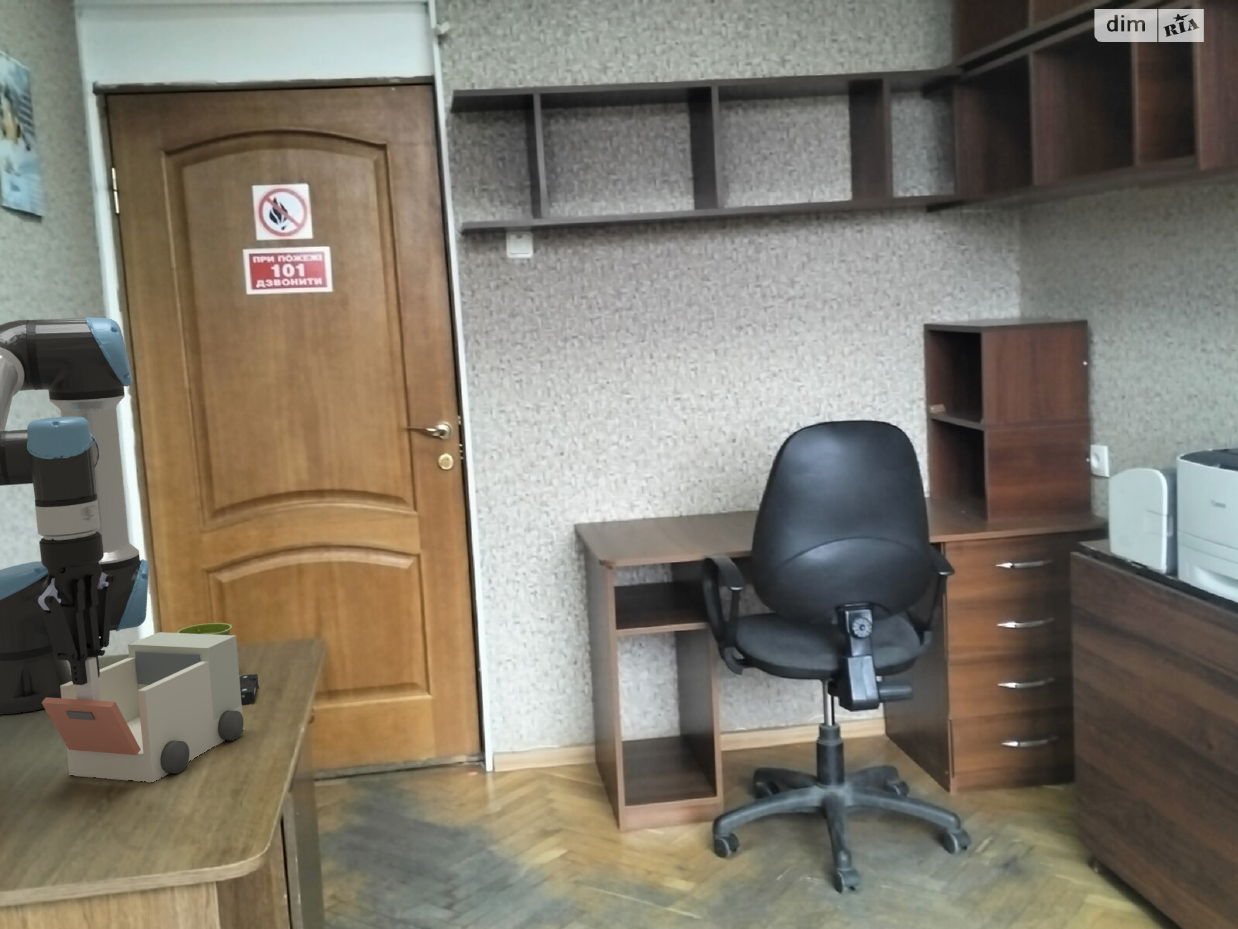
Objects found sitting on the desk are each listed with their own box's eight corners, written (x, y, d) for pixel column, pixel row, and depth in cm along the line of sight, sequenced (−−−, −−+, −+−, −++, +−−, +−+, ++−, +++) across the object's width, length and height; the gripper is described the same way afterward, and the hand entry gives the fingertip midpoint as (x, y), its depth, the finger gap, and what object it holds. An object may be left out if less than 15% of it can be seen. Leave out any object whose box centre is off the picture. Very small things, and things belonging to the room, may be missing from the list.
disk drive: (258, 689, 200) (168, 697, 197) (257, 673, 200) (167, 682, 196) (255, 707, 190) (160, 717, 187) (254, 690, 190) (158, 700, 186)
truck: (60, 774, 161) (50, 671, 160) (159, 724, 181) (151, 632, 180) (162, 783, 157) (152, 677, 155) (251, 730, 177) (243, 635, 175)
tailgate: (67, 751, 159) (40, 704, 154) (73, 744, 160) (46, 697, 155) (135, 756, 156) (109, 708, 151) (140, 749, 157) (115, 701, 152)
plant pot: (182, 672, 210) (178, 625, 209) (236, 665, 213) (232, 620, 212) (178, 686, 201) (174, 638, 200) (235, 679, 204) (231, 632, 203)
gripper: (57, 544, 145) (77, 723, 148) (127, 524, 157) (144, 690, 160) (9, 543, 147) (30, 720, 150) (81, 524, 159) (99, 688, 162)
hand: (89, 704), depth 155 cm, fingers closed
